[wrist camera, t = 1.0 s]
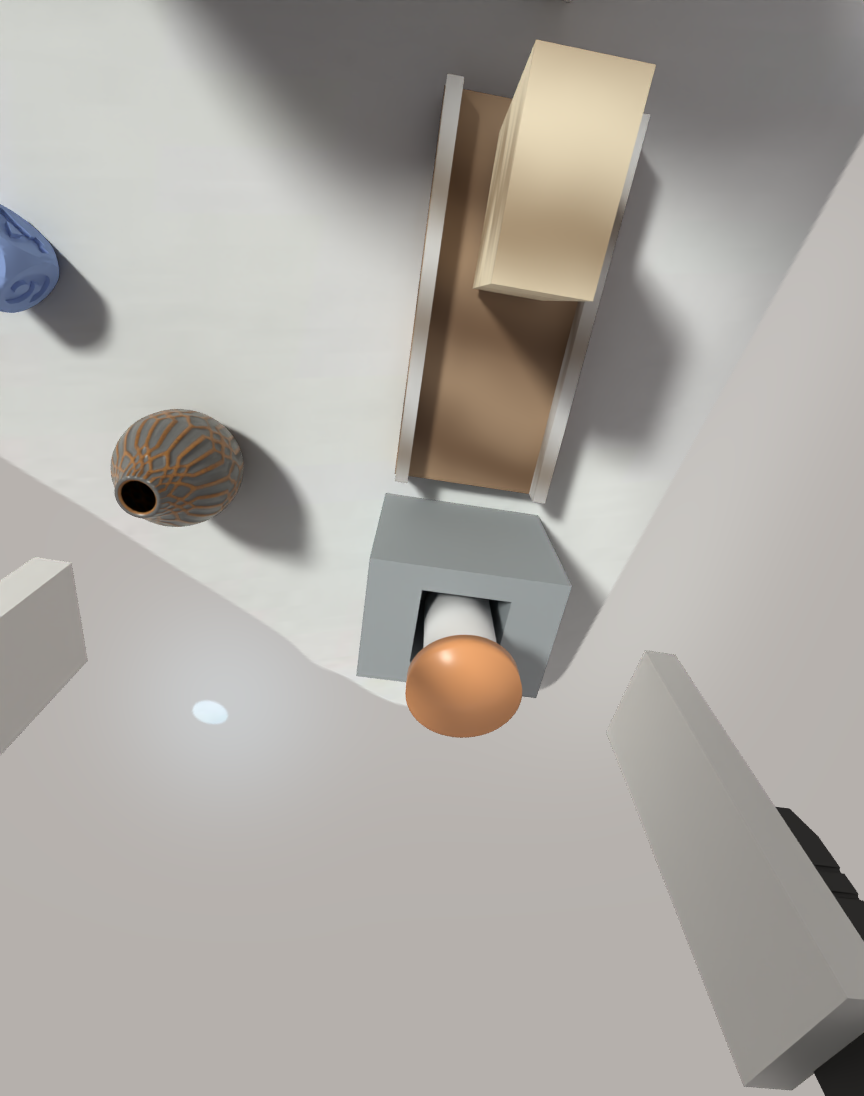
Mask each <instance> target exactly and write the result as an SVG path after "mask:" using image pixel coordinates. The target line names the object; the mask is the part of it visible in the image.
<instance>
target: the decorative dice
mask: <svg viewBox="0 0 864 1096" xmlns="http://www.w3.org/2000/svg"><path fill="white" fill-rule="evenodd" d="M58 279H59V265H58V261H57V257H56V254H55V252H54V250H53V248H52V246H51V245H50V243H49V242H48V241H47V240H46V239H45V238H44V236H43V235H42V234H41V233H40V232H38V231H37V230H36V229H35V228H34V227H33V226H32V225H31V224H29V223H28V222H27V221H25V220H24V219H23V218H21V217H20V216H19V215H17V214H16V213H14V212H13V211H11V210H9V209H8V208H6V207H4V206H3V205H1V204H0V311H2V312H9V313H15V312H20V311H24V310H26V309H29V308H31V307H33V306H34V305H36V304H38V303H39V302H40V301H42V300H43V299H44V298H45V297H46V296H47V295H48V294H49V293H50V292H51V291H52V290H53V288H54V287H55V285H56V283H57V281H58Z"/></svg>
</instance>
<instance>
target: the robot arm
mask: <svg viewBox="0 0 864 1096" xmlns="http://www.w3.org/2000/svg"><path fill="white" fill-rule="evenodd" d="M87 661H88V660H87V654H86V647H85V641H84V635H83V629H82V624H81V617H80V611H79V605H78V599H77V593H76V587H75V581H74V575H73V568H72V563H70V562H63V561H57V560H49V559H43V558H37V557H34V558H33V559H31V560H30V561H28V562H27V563H25V564H24V565H22V566H21V567H20V568H18V569H16V570H15V571H14V572H12V573H11V574H9V575H8V576H6V577H5V578H3V579H2V580H0V755H1V754H2V753H3V752H4V751H5V750H6V749H7V748H8V747H9V746H10V745H11V744H12V742H13V741H14V740H15V739H16V738H17V737H18V736H19V735H20V734H21V733H22V732H23V730H24V729H25V728H26V727H27V726H28V725H29V724H30V723H31V722H32V721H33V720H34V719H35V717H36V716H37V715H38V714H39V713H40V712H41V711H42V710H43V709H44V708H45V707H46V706H47V704H48V703H49V702H50V701H51V700H52V699H53V698H54V697H55V696H56V695H57V693H58V692H59V691H60V690H61V689H62V688H63V687H64V686H65V685H66V684H67V683H68V682H69V681H70V679H71V678H72V677H73V676H74V675H75V674H76V673H77V672H78V671H79V669H81V667H82V666H83V665H84V664H85V663H86V662H87ZM606 733H607V736H608V739H609V741H610V743H611V746H612V749H613V751H614V753H615V756H616V759H617V762H618V764H619V767H620V769H621V772H622V775H623V777H624V780H625V782H626V785H627V787H628V790H629V793H630V795H631V798H632V800H633V803H634V805H635V808H636V811H637V813H638V816H639V818H640V821H641V823H642V826H643V829H644V831H645V834H646V836H647V839H648V841H649V844H650V847H651V849H652V852H653V854H654V857H655V860H656V862H657V865H658V867H659V869H660V872H661V875H662V878H663V880H664V882H665V885H666V888H667V890H668V893H669V896H670V898H671V901H672V903H673V906H674V908H675V911H676V914H677V916H678V918H679V921H680V924H681V926H682V929H683V932H684V934H685V937H686V939H687V942H688V944H689V947H690V950H691V952H692V955H693V957H694V960H695V962H696V965H697V968H698V970H699V973H700V975H701V978H702V980H703V983H704V986H705V988H706V991H707V993H708V996H709V999H710V1001H711V1004H712V1006H713V1009H714V1011H715V1014H716V1017H717V1019H718V1022H719V1024H720V1027H721V1029H722V1032H723V1035H724V1037H725V1040H726V1042H727V1045H728V1047H729V1050H730V1053H731V1055H732V1057H733V1060H734V1062H735V1065H736V1068H737V1071H738V1073H739V1076H740V1078H741V1081H742V1083H743V1086H744V1087H757V1088H769V1089H781V1090H793V1089H794V1088H796V1087H797V1086H798V1085H799V1084H801V1083H802V1082H803V1081H805V1080H806V1079H807V1078H808V1077H810V1076H811V1075H813V1074H815V1076H816V1078H817V1080H818V1082H819V1084H820V1086H821V1088H822V1090H823V1092H824V1094H825V1096H864V901H861V900H859V898H858V893H857V892H856V890H855V888H854V887H853V885H852V884H851V883H850V881H849V880H848V878H847V877H846V876H845V874H842V873H841V872H840V870H839V869H840V867H839V866H838V864H837V863H836V861H835V860H834V858H833V857H832V856H831V854H830V853H829V851H828V850H827V848H826V847H825V846H824V844H823V843H822V841H821V840H820V839H819V837H818V836H817V835H816V834H815V833H814V832H813V831H812V830H811V829H810V828H809V827H808V826H807V825H806V824H805V823H804V822H803V821H802V820H801V819H800V818H799V817H798V816H797V815H796V814H794V813H793V812H792V811H791V810H790V809H788V808H780V807H775V806H774V804H773V803H772V801H771V800H770V798H769V797H768V795H767V794H766V792H765V791H764V789H763V788H762V786H761V785H760V783H759V782H758V780H757V778H756V777H755V775H754V774H753V773H752V771H751V769H750V768H749V766H748V765H747V763H746V762H745V760H744V759H743V757H742V756H741V754H740V753H739V751H738V750H737V748H736V747H735V745H734V743H733V742H732V741H731V739H730V737H729V736H728V735H727V733H726V731H725V730H724V728H723V727H722V725H721V724H720V722H719V721H718V719H717V718H716V716H715V715H714V713H713V712H712V710H711V708H710V707H709V705H708V704H707V702H706V701H705V700H704V698H703V696H702V695H701V693H700V692H699V690H698V689H697V687H696V686H695V684H694V683H693V681H692V680H691V678H690V677H689V675H688V674H687V672H686V670H685V669H684V668H683V666H682V664H681V663H680V661H679V660H678V658H677V657H676V656H675V655H673V654H667V653H660V652H653V651H646V650H645V651H644V653H643V655H642V657H641V659H640V662H639V664H638V666H637V668H636V670H635V672H634V674H633V676H632V678H631V681H630V683H629V685H628V687H627V689H626V691H625V693H624V695H623V698H622V700H621V702H620V704H619V706H618V708H617V710H616V712H615V714H614V716H613V719H612V720H611V723H610V725H609V727H608V729H607V731H606Z"/></svg>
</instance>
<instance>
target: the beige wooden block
mask: <svg viewBox="0 0 864 1096" xmlns="http://www.w3.org/2000/svg"><path fill="white" fill-rule="evenodd" d="M655 67H656V65H655V64H650V63H646V62H641V61H636V60H632V59H627V58H622V57H617V56H613V55H608V54H603V53H598V52H594V51H589V50H584V49H579V48H575V47H570V46H565V45H560V44H556V43H551V42H546V41H541V40H537V39H536V41H535V43H534V46H533V48H532V51H531V54H530V56H529V59H528V61H527V64H526V66H525V69H524V71H523V74H522V76H521V79H520V81H519V84H518V86H517V89H516V91H515V94H514V96H513V99H512V101H511V104H510V107H509V109H508V112H507V114H506V117H505V119H504V122H503V124H502V127H501V129H500V132H499V137H498V143H497V149H496V155H495V161H494V166H493V172H492V178H491V184H490V190H489V196H488V202H487V208H486V213H485V219H484V225H483V231H482V237H481V243H480V249H479V255H478V260H477V266H476V272H475V278H474V284H473V289H478V290H484V291H490V292H495V293H501V294H507V295H512V296H518V297H524V298H529V299H535V300H541V301H593V300H594V296H595V292H596V288H597V284H598V281H599V277H600V273H601V269H602V266H603V262H604V258H605V254H606V251H607V247H608V243H609V239H610V236H611V232H612V228H613V224H614V221H615V217H616V213H617V209H618V206H619V202H620V198H621V194H622V191H623V187H624V183H625V179H626V176H627V172H628V168H629V164H630V161H631V157H632V153H633V149H634V146H635V142H636V138H637V134H638V131H639V127H640V123H641V119H642V116H643V112H644V108H645V104H646V101H647V97H648V93H649V89H650V86H651V82H652V78H653V74H654V70H655Z"/></svg>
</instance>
